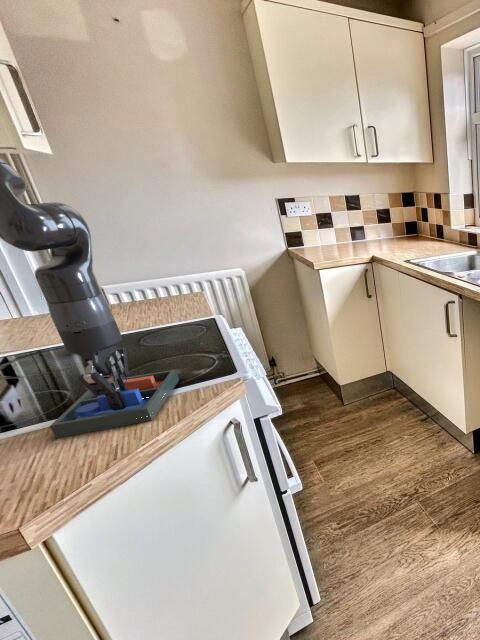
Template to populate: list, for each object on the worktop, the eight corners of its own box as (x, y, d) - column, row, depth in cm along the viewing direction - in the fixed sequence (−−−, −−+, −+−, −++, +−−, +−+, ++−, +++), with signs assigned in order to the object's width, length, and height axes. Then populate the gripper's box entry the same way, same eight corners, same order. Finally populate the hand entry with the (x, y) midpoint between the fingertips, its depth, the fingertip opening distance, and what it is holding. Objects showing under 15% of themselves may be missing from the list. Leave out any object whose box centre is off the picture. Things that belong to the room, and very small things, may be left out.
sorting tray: (55, 438, 75) (49, 426, 74) (101, 392, 90) (96, 381, 89) (152, 420, 80) (147, 408, 79) (179, 379, 95) (175, 369, 94)
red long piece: (95, 402, 85) (89, 389, 84) (103, 393, 88) (98, 382, 87) (153, 392, 88) (148, 380, 87) (159, 384, 91) (154, 373, 90)
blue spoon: (74, 418, 77) (67, 405, 76) (83, 409, 80) (77, 396, 79) (138, 407, 81) (133, 394, 80) (145, 398, 84) (140, 386, 83)
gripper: (77, 313, 79) (113, 393, 86) (35, 338, 67) (80, 429, 74) (127, 307, 82) (158, 386, 88) (94, 331, 70) (132, 419, 77)
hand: (122, 405), depth 81 cm, fingers closed on blue spoon
